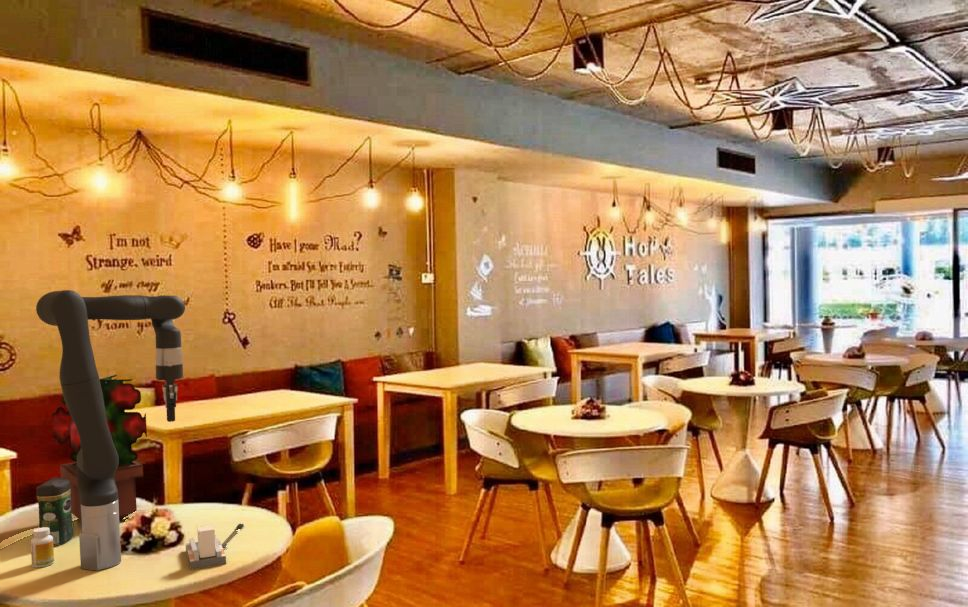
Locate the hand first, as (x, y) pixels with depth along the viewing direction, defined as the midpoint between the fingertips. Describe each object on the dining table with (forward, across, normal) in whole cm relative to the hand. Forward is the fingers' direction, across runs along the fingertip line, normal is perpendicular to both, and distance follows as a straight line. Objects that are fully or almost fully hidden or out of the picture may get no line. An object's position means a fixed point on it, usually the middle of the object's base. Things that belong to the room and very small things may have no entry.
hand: (171, 421), depth 240 cm
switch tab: (+32, +27, +6) cm, 43 cm away
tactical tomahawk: (+35, +10, +16) cm, 40 cm away
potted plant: (+35, -30, -19) cm, 50 cm away
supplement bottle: (+35, +6, -34) cm, 50 cm away
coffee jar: (+35, -13, -32) cm, 49 cm away
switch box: (+35, +22, +6) cm, 42 cm away
